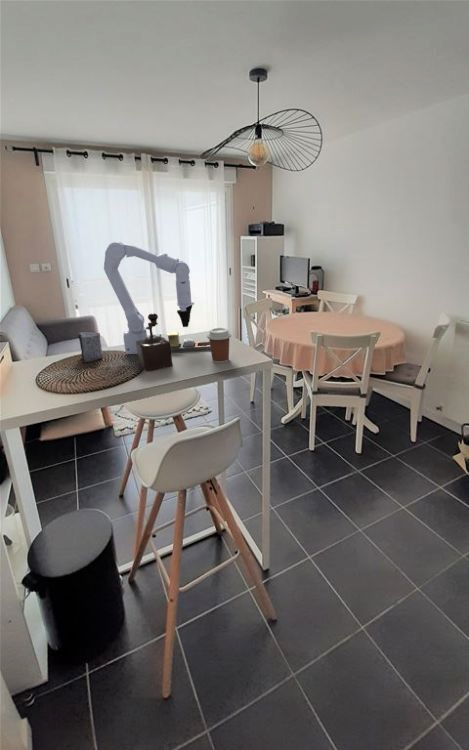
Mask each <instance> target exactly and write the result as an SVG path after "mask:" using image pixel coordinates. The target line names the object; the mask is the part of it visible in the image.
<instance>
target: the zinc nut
mask: <svg viewBox="0 0 469 750" xmlns="http://www.w3.org/2000/svg"><path fill="white" fill-rule="evenodd" d="M194 342H195V340H194V338H184V339H183V343H184V347H194Z"/></svg>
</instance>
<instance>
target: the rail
mask: <svg viewBox="0 0 469 750" xmlns="http://www.w3.org/2000/svg"><path fill="white" fill-rule="evenodd" d="M207 345H210V341H209V340H207V341H194V347H184V342H180V348H171V353H181V352H183V353H184V352H185V353H186V352H199V351H201V352H202V351H211V348H210V346H207Z"/></svg>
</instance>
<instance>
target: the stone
mask: <svg viewBox="0 0 469 750" xmlns="http://www.w3.org/2000/svg"><path fill="white" fill-rule="evenodd" d="M77 336H78V337H77V338H78V340H79V345H80V351H81V358H82V359H81V360H82V362H83V363H90V362H93V361H97V360H99V359H103V358H104V356H105V354H104V352H103V349H102V343H101V333H100V332H91V331H89V332H86V331H80V332H78V333H77Z"/></svg>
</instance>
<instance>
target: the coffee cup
mask: <svg viewBox="0 0 469 750" xmlns="http://www.w3.org/2000/svg"><path fill="white" fill-rule="evenodd" d="M206 337H207V339H208V341H210V348H211V350H210V353H211V360H212V362H213V363H215V364H224V363H227V362H229V361H230V360H229V359H230V357H229V356H230V339H231V337H232V333H231V332H230V331H229V329H228V328H226V327H216V328H215V327H214V328H211V329H210V330H209V332H208V334H207V335H206Z"/></svg>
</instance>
